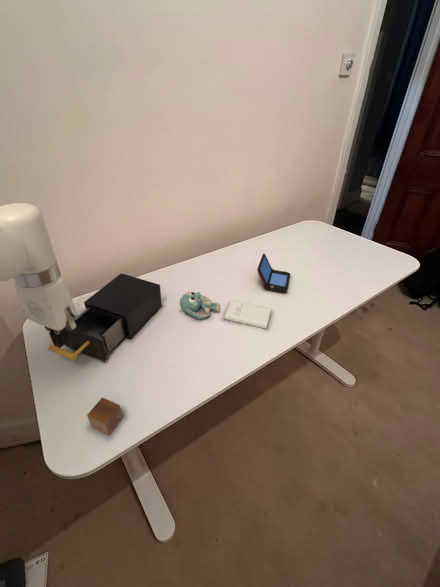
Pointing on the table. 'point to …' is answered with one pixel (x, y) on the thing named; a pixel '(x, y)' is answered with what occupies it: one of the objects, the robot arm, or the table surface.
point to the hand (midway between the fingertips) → (62, 342)
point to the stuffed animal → (197, 305)
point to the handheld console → (273, 277)
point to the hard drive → (248, 314)
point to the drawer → (93, 334)
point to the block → (105, 416)
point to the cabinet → (128, 301)
